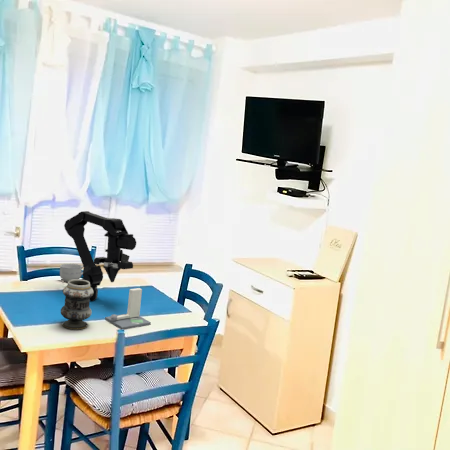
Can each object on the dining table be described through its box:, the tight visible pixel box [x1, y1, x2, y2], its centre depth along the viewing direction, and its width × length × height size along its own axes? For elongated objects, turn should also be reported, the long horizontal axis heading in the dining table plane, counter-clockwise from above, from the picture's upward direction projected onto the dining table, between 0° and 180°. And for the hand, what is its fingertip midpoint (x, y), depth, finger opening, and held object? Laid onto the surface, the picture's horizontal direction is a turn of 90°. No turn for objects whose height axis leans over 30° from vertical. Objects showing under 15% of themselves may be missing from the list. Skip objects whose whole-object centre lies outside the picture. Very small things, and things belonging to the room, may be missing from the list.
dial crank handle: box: [110, 287, 143, 321], centre depth 227 cm, size 2×13×12 cm, turn 134°
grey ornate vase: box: [60, 278, 94, 331], centre depth 215 cm, size 12×12×18 cm
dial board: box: [104, 313, 151, 330], centre depth 227 cm, size 13×14×1 cm
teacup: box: [59, 263, 84, 283], centre depth 275 cm, size 14×11×8 cm
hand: (112, 282), depth 241 cm, fingers closed
